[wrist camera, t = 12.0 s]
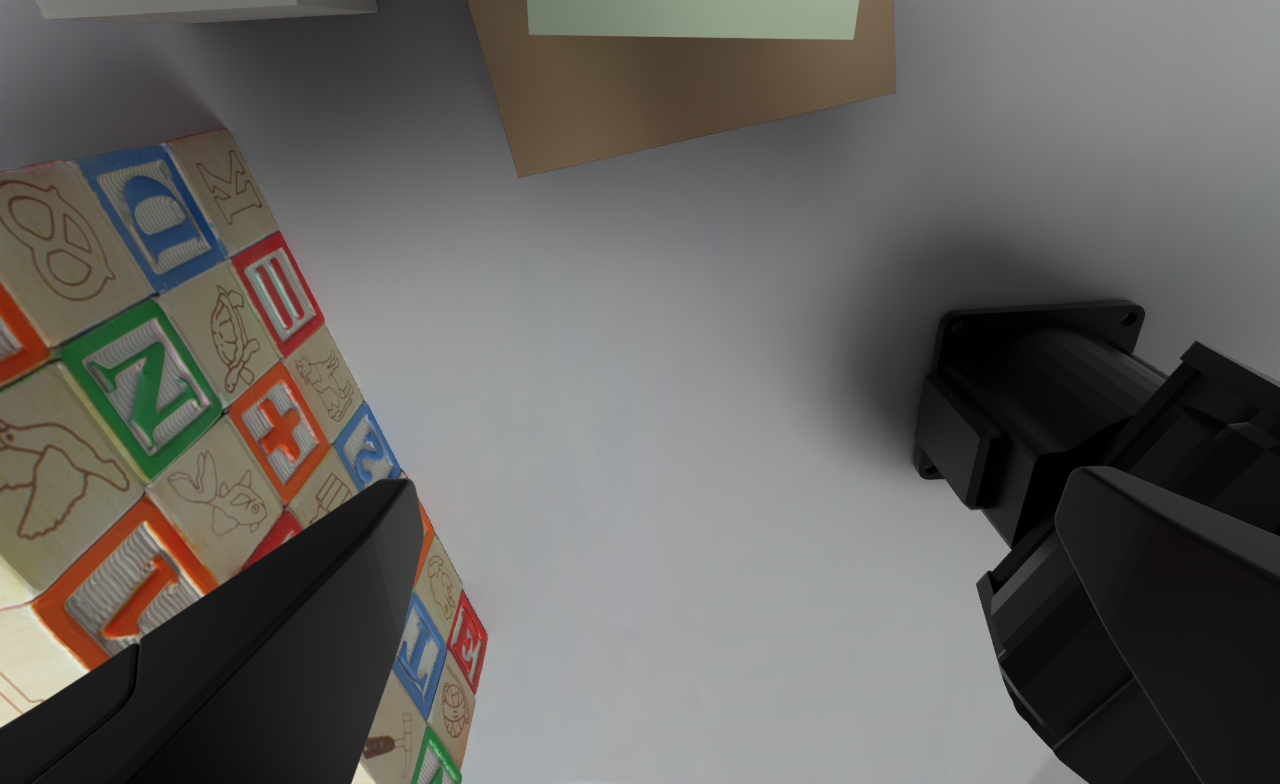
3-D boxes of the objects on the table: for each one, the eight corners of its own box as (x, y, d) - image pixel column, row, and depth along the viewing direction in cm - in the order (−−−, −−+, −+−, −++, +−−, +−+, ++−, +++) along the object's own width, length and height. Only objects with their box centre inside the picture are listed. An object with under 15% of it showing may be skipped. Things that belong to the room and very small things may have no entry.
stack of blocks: (494, 635, 29) (419, 1002, 18) (360, 663, 29) (207, 1035, 18) (227, 120, 19) (-321, 240, 8) (30, 178, 19) (-735, 366, 8)
